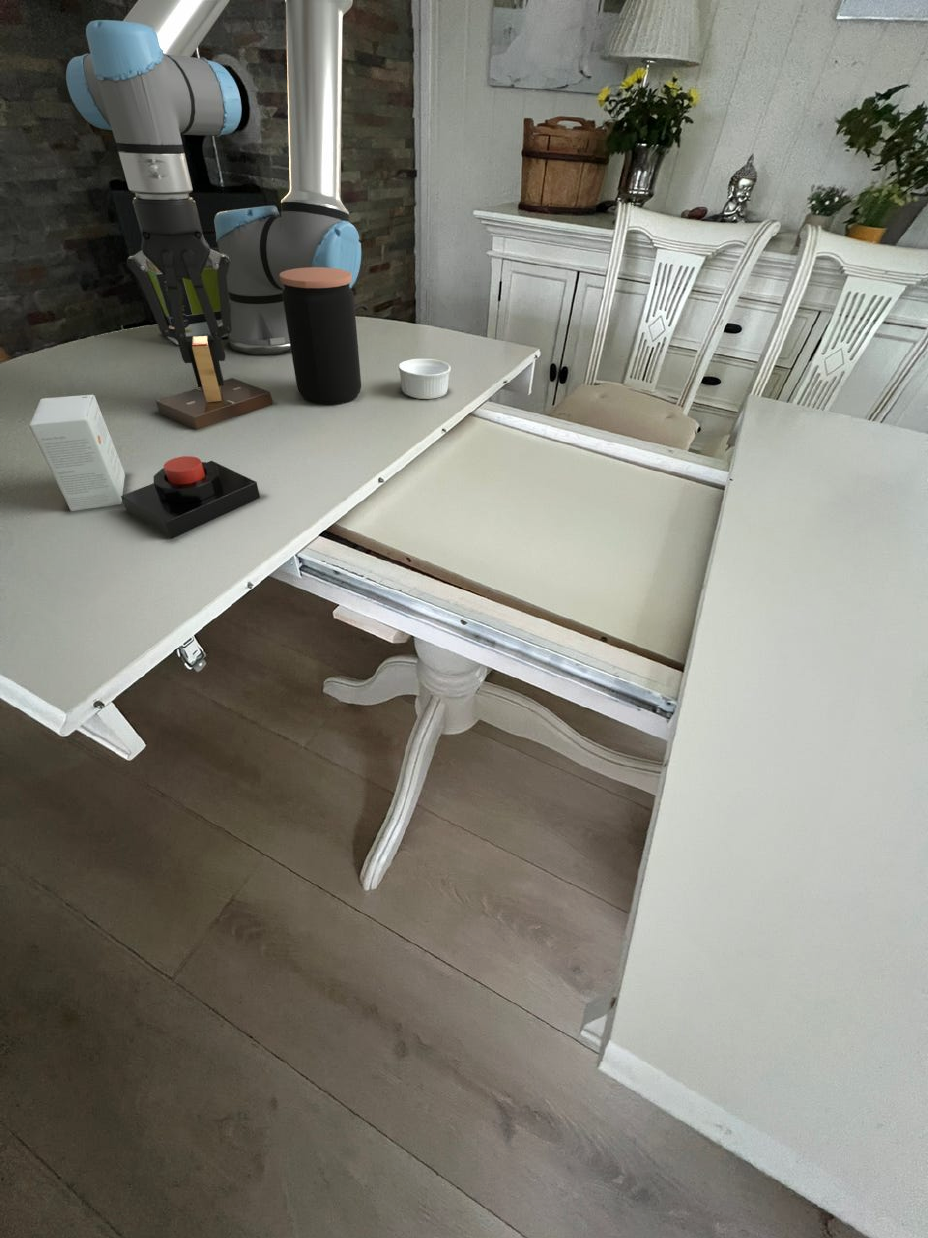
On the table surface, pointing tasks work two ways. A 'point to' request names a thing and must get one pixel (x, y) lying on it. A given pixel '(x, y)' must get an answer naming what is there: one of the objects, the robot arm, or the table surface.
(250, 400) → the panel
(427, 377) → the ramekin
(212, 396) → the handle
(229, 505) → the button block
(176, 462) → the button
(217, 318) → the tea box
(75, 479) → the small box
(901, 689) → the table surface
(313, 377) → the coffee jar
